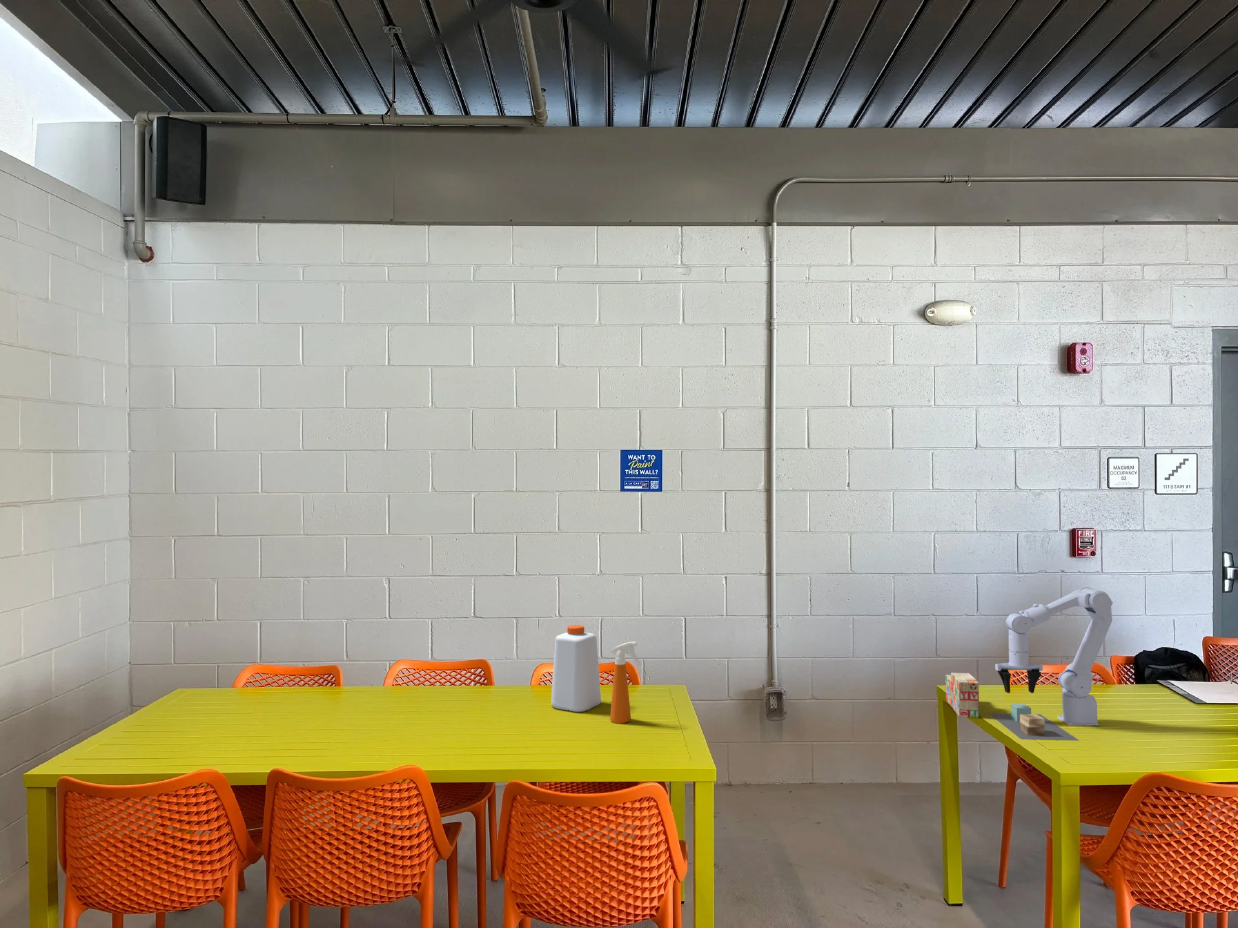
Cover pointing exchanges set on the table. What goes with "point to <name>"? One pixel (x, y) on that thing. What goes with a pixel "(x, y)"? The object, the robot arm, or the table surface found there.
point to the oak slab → (1032, 720)
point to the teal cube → (1019, 711)
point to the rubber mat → (1049, 734)
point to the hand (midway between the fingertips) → (1019, 692)
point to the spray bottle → (621, 684)
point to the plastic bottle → (575, 671)
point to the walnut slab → (1032, 730)
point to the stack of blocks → (963, 694)
